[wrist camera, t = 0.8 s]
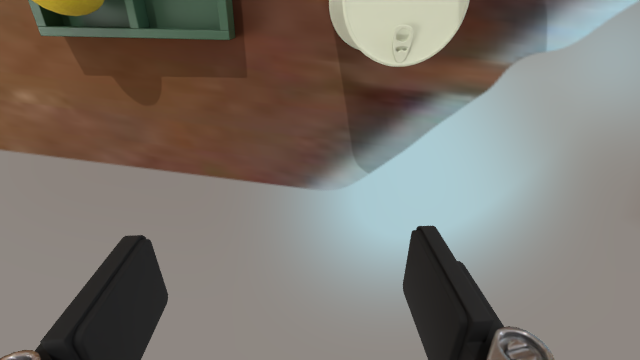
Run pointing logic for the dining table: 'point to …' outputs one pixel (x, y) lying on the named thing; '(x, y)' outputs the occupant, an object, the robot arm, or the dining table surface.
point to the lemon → (71, 6)
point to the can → (397, 27)
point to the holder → (143, 20)
